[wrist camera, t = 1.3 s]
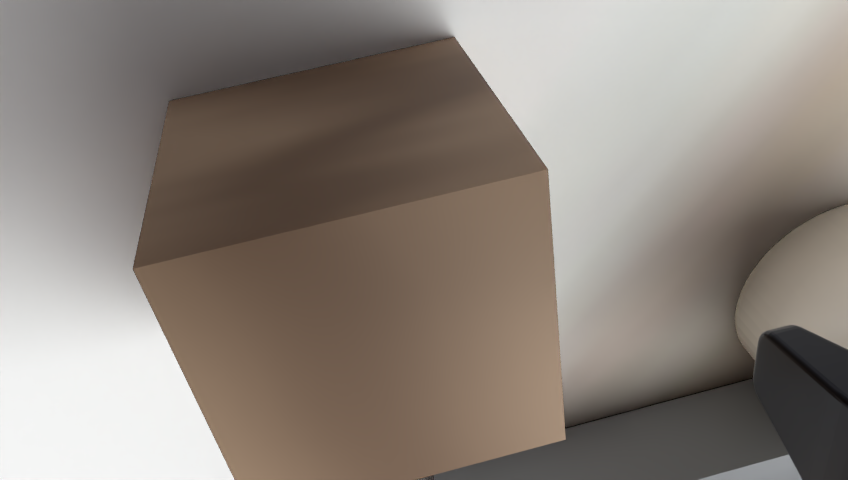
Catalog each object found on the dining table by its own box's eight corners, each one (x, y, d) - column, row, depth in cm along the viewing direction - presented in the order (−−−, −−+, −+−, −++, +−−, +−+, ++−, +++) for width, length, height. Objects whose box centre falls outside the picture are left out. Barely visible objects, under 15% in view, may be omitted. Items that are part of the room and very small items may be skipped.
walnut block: (453, 35, 13) (547, 169, 9) (483, 260, 16) (566, 439, 12) (169, 98, 13) (132, 269, 9) (252, 317, 16) (255, 522, 11)
